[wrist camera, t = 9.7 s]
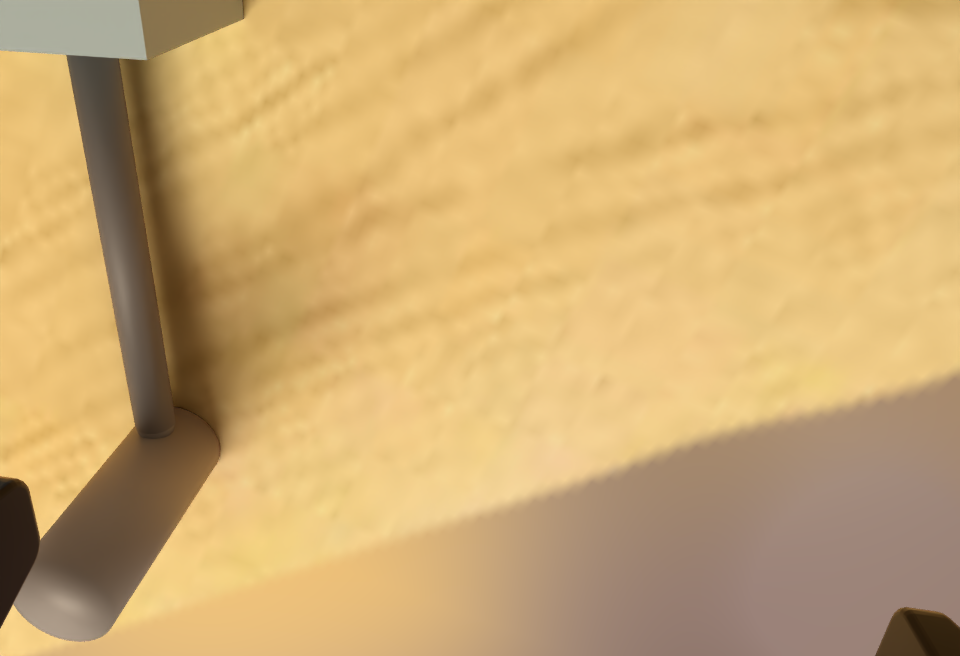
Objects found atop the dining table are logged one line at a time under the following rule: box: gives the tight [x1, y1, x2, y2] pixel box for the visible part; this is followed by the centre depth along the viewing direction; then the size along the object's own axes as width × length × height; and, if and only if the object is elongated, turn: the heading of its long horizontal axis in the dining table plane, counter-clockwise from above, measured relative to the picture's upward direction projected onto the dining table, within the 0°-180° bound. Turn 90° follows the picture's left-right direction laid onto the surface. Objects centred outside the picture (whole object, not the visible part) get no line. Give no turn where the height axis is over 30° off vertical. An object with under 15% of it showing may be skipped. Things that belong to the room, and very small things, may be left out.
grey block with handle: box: [0, 0, 244, 642], centre depth 17 cm, size 6×20×6 cm, turn 178°
